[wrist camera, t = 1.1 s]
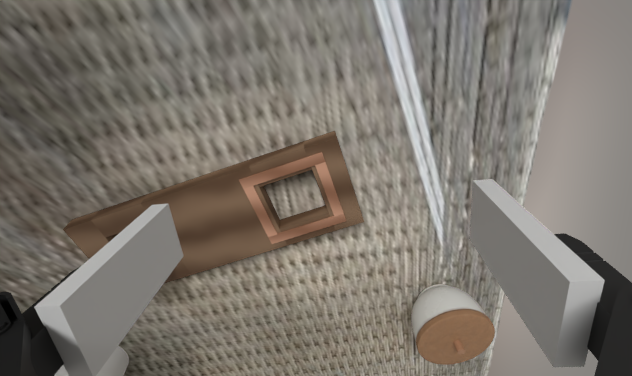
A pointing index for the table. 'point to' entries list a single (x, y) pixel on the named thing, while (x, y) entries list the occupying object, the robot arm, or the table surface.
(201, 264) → the walnut rail
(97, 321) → the robot arm
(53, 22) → the table surface
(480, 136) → the table surface
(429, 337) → the lidded jar
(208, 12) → the table surface
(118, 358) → the cylinder with rectangular tab
